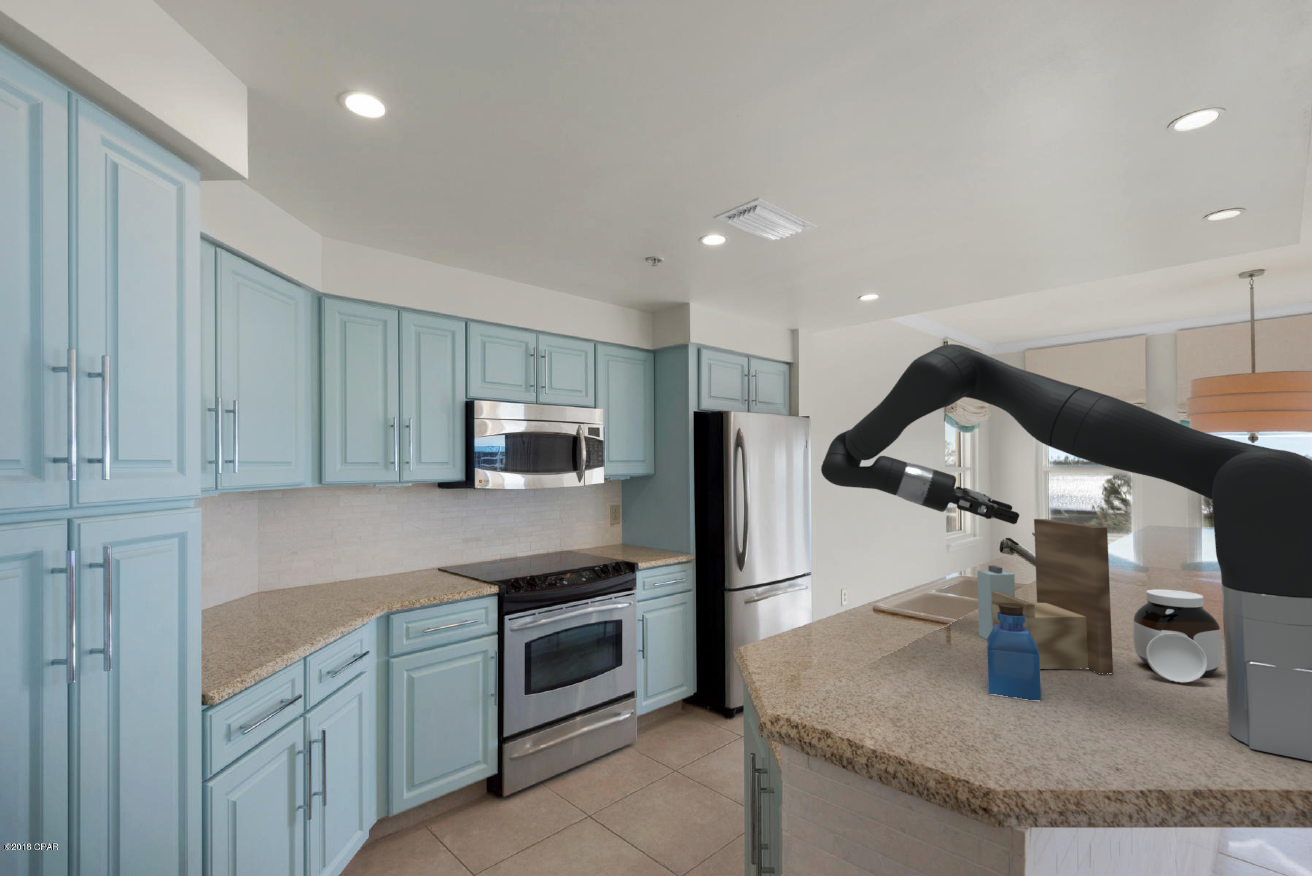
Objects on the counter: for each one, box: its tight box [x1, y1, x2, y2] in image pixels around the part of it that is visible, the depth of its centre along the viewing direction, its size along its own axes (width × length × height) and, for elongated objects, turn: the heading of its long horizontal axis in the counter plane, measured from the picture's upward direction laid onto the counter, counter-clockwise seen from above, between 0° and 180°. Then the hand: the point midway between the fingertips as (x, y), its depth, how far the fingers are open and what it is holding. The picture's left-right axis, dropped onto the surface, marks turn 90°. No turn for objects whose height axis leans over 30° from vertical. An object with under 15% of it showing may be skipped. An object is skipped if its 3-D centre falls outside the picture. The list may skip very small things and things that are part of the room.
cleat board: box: [992, 518, 1114, 675], centre depth 103 cm, size 11×15×22 cm
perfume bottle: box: [986, 603, 1042, 701], centre depth 89 cm, size 6×6×12 cm
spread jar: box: [1132, 588, 1223, 684], centre depth 95 cm, size 12×11×12 cm
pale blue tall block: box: [976, 565, 1016, 641], centre depth 115 cm, size 4×4×13 cm
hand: (1014, 514), depth 119 cm, fingers open, 8 cm apart
